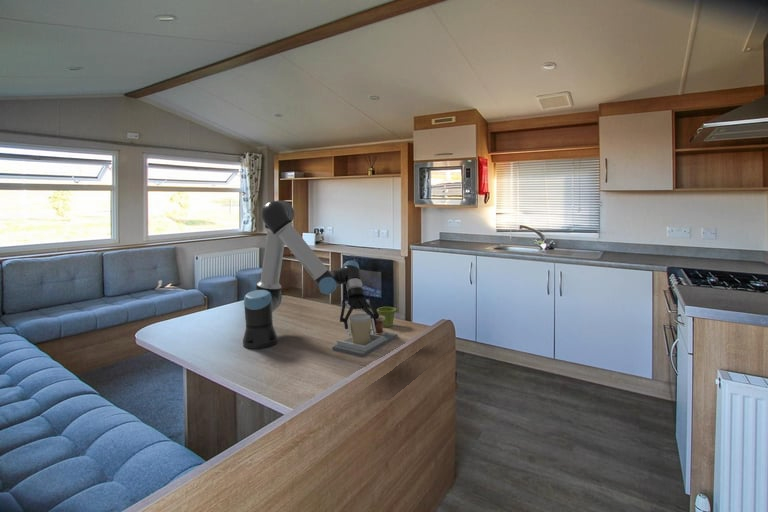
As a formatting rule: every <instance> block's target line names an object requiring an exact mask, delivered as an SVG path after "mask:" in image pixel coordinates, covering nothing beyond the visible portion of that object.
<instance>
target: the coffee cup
mask: <svg viewBox="0 0 768 512" xmlns="http://www.w3.org/2000/svg"><path fill="white" fill-rule="evenodd" d="M349 324H350V331H351V335H350V336H351V337H352V343H354V344H359V345H363V346H364V345H367V344H369V343H370V329H372V324H371V317H370V315H368V314H367V313H355V314H352V315H350V316H349Z"/></svg>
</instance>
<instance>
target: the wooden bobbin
mask: <svg viewBox="0 0 768 512" xmlns="http://www.w3.org/2000/svg"><path fill="white" fill-rule="evenodd" d="M384 320H385V316H382V315H379V318H378V319H376V323H377V325H376V327H375V329H376V333H375V335H380V336H383V335H385V332H386V330H384V329H383V328H384V327H383V321H384ZM372 334H373V331H372Z"/></svg>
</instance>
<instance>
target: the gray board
mask: <svg viewBox="0 0 768 512" xmlns="http://www.w3.org/2000/svg"><path fill="white" fill-rule="evenodd" d="M372 331H373V330H372V328H370V343H369V344H367V345H364V346H363V345H359V344H354V343H352V336H350V337H348V339H345V340H340V339H338V340H336V344H335V345H334V346H332V351H335V352H338V353H344V354H348V355H352V356H356V357H361V358H364V357H366V356H368V355H369V353H370V354H371V353H373V352H375V351H376V350H378V349H380V348H381V347H383V346H385V345H386V343H387V344H389V343H390V342H392V341H394V340H395V339H398V336H399V335H398V333H395V332H389V331H385V335H383V336H380V335H375V334H372ZM388 342H389V343H388Z"/></svg>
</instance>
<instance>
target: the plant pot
mask: <svg viewBox="0 0 768 512" xmlns="http://www.w3.org/2000/svg"><path fill="white" fill-rule="evenodd" d="M376 310H377V312H378V313H379V315H382V316H385V320H384V321H383V328H386V327H387V328H392V326H394V319H395V313H396V311H397V309H396V307H392V306H382V307H378V308H376Z"/></svg>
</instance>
